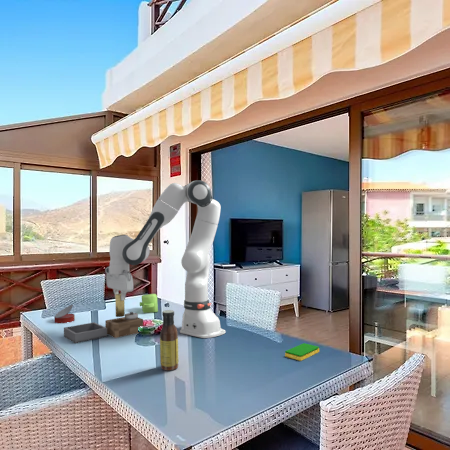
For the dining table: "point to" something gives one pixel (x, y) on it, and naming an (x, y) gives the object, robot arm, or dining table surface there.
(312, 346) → the dish sponge
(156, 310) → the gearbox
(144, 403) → the dining table surface
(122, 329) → the brown wooden box
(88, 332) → the pin tray
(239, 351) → the dining table surface
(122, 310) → the pin
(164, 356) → the sauce bottle
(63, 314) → the canned food
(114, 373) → the dining table surface
